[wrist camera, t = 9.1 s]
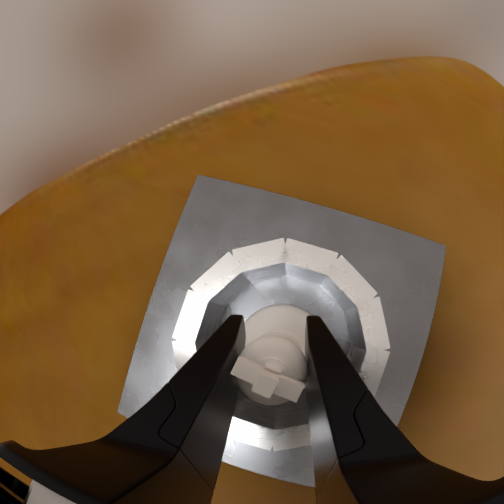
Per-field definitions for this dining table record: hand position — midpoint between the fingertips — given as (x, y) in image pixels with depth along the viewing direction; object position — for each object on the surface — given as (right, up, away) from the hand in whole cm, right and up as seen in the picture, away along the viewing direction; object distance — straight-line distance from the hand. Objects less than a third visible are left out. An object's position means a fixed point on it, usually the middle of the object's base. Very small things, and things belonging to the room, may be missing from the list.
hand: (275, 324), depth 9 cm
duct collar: (+1, -3, +9) cm, 10 cm away
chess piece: (+1, -3, +6) cm, 7 cm away
